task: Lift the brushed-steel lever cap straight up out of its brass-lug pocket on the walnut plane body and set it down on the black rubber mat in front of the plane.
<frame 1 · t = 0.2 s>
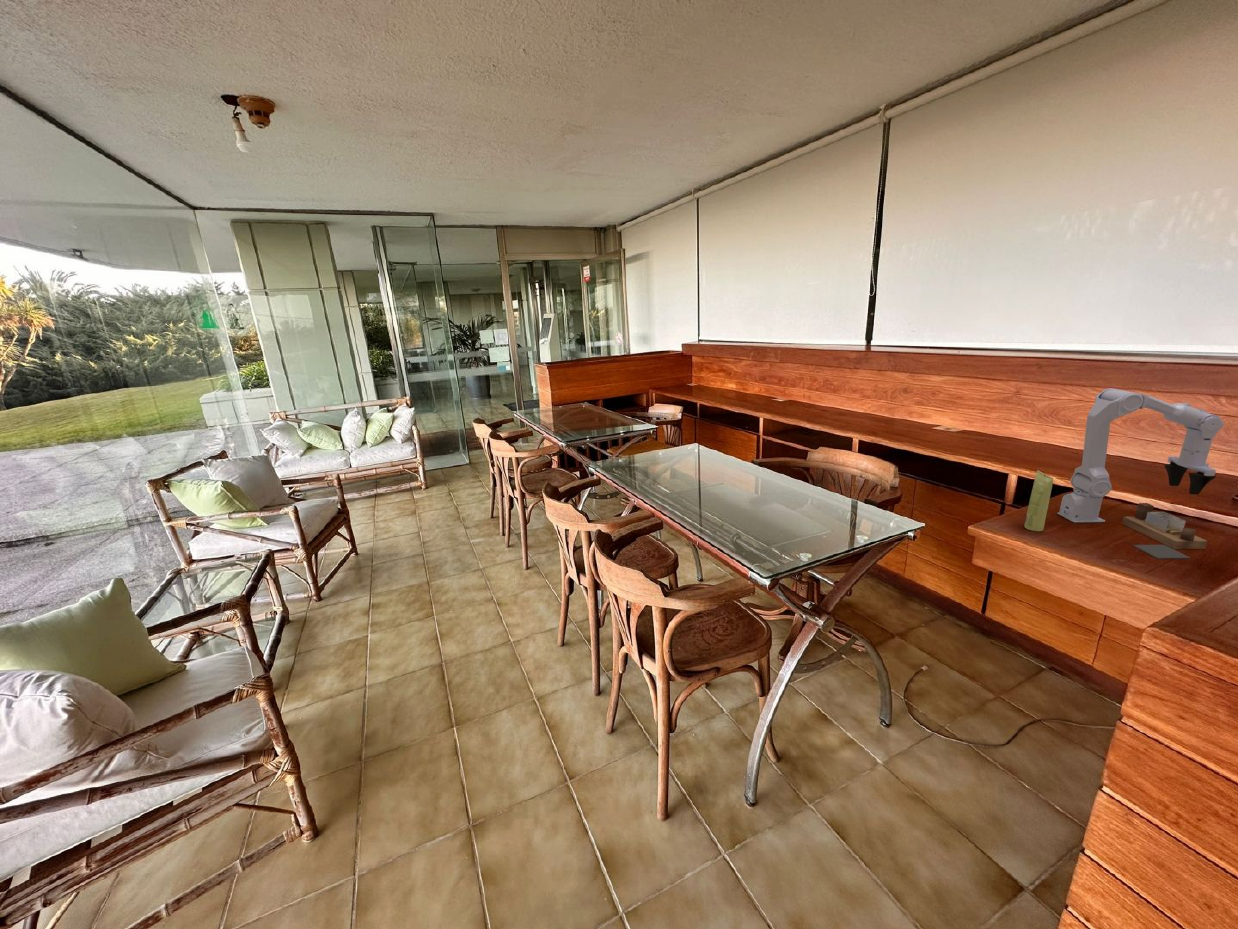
hand: (1183, 489, 157), 10 cm above the counter, fingers open, 7 cm apart
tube: (1033, 529, 161), on the counter
rubber mat: (1160, 552, 141), on the counter
lever cap: (1163, 528, 150), point 2 cm above the counter, touching plane body
plane body: (1161, 535, 150), on the counter
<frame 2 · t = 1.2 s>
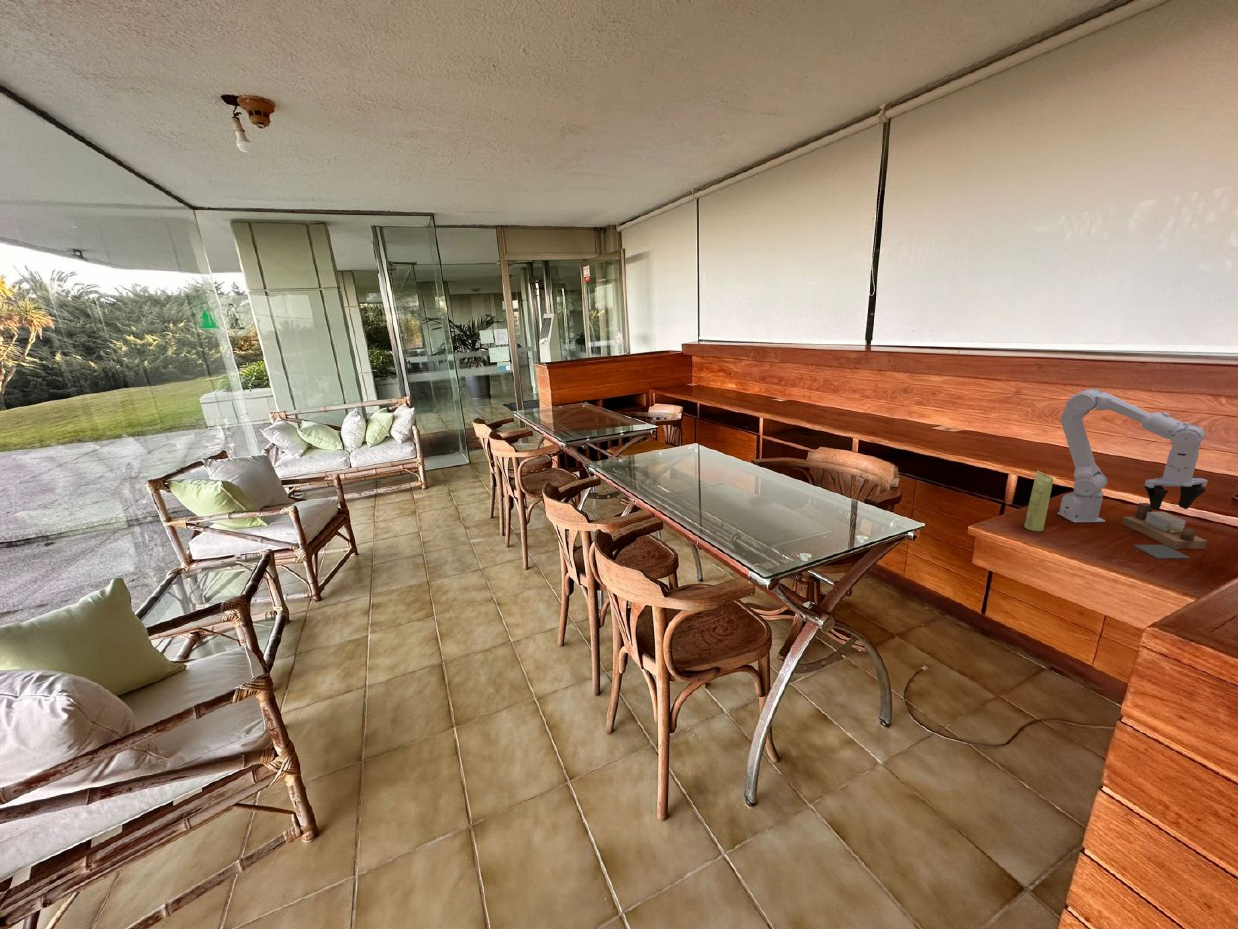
hand: (1168, 508, 148), 9 cm above the counter, fingers open, 7 cm apart
nothing on the counter moved.
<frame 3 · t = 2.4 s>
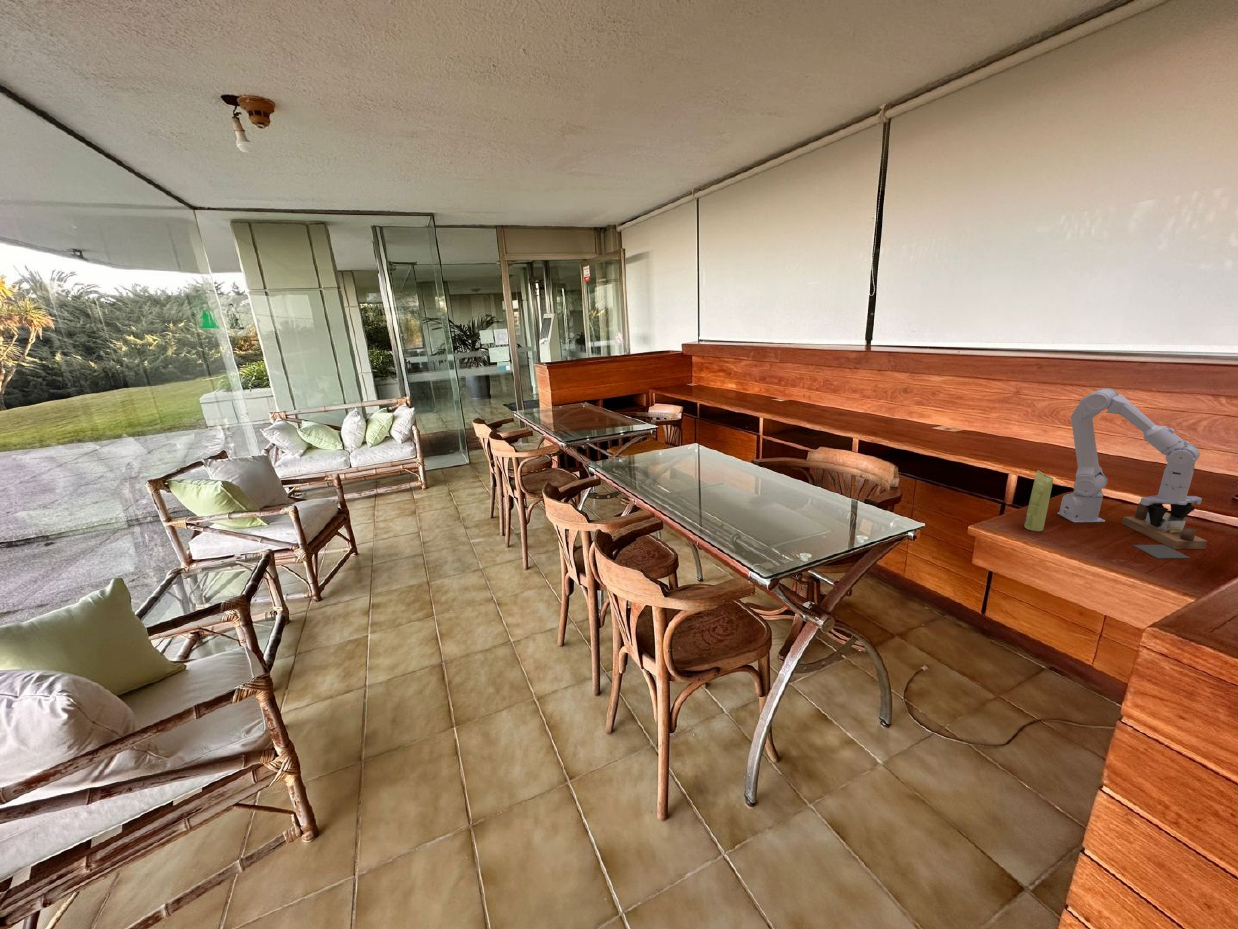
hand: (1163, 525, 149), 3 cm above the counter, fingers closed on lever cap, 4 cm apart
lever cap: (1163, 528, 150), point 2 cm above the counter, touching gripper, plane body
everything else where it was.
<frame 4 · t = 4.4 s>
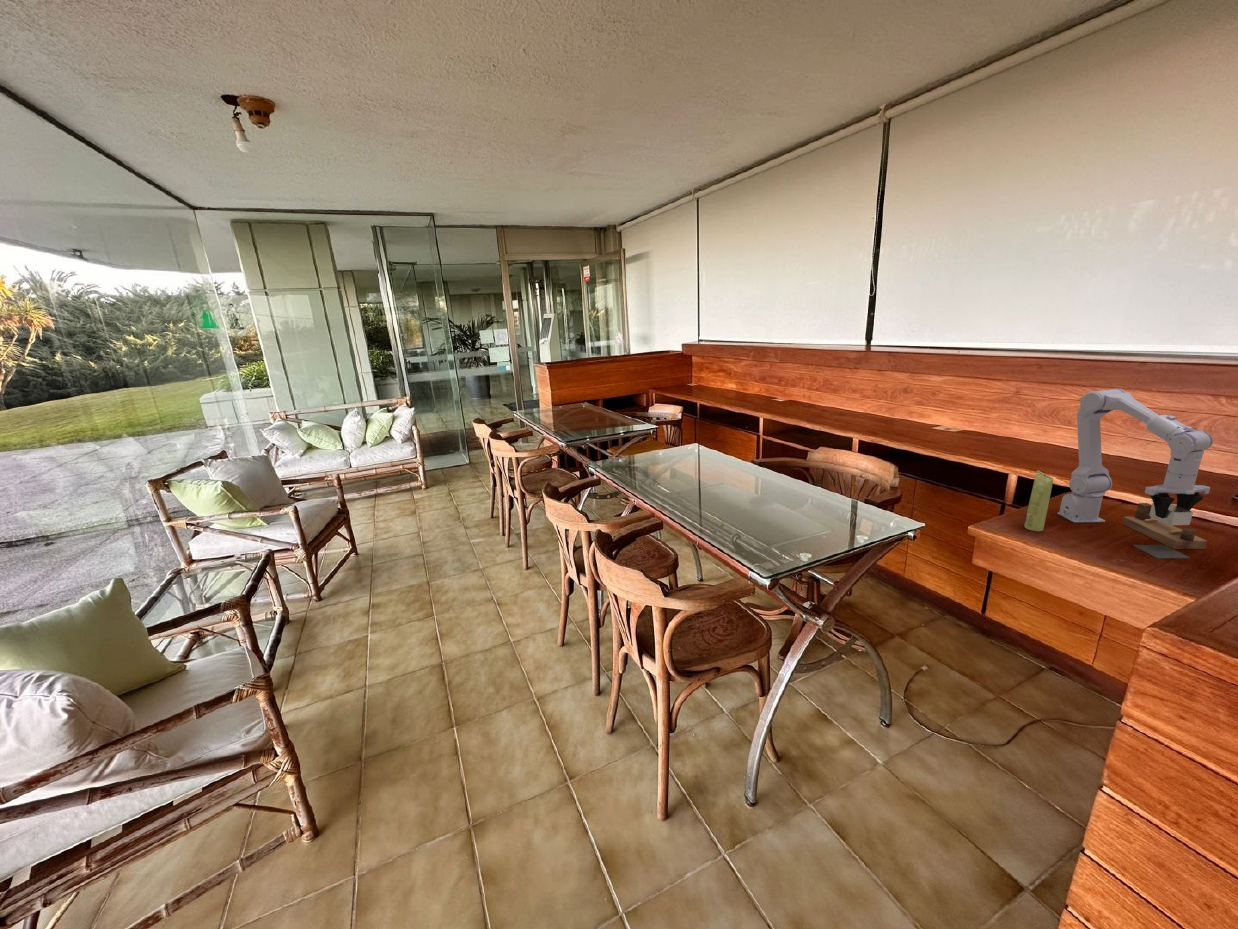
hand: (1169, 516, 141), 10 cm above the counter, fingers closed on lever cap, 4 cm apart
lever cap: (1168, 520, 141), point 9 cm above the counter, touching gripper
everything else where it was.
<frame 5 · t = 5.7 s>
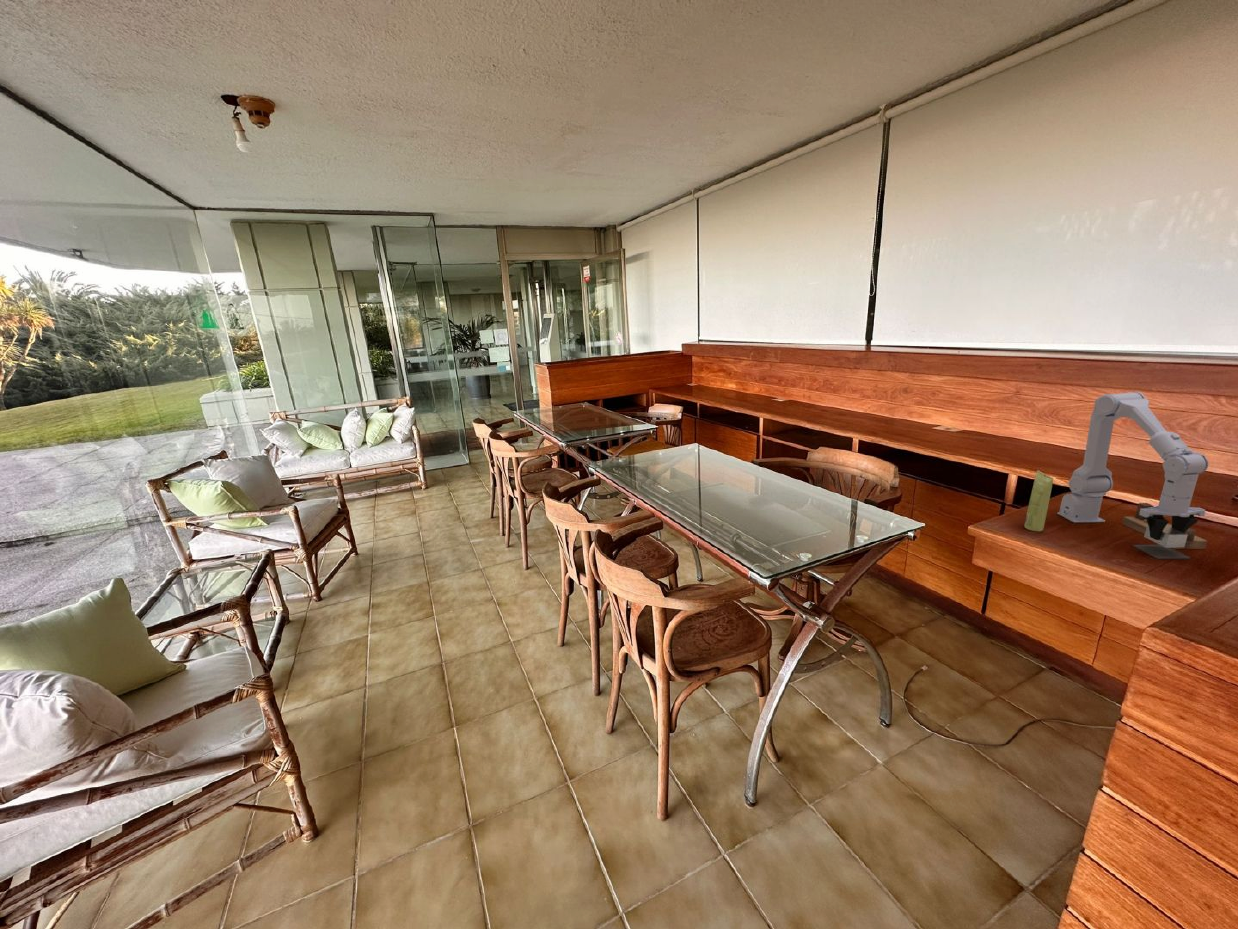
hand: (1164, 538, 140), 5 cm above the counter, fingers closed on lever cap, 4 cm apart
lever cap: (1163, 542, 140), point 3 cm above the counter, touching gripper
everything else where it was.
when the fingers open (3 cm above the counter, at t = 6.5 s): lever cap drops 1 cm, resting on rubber mat.
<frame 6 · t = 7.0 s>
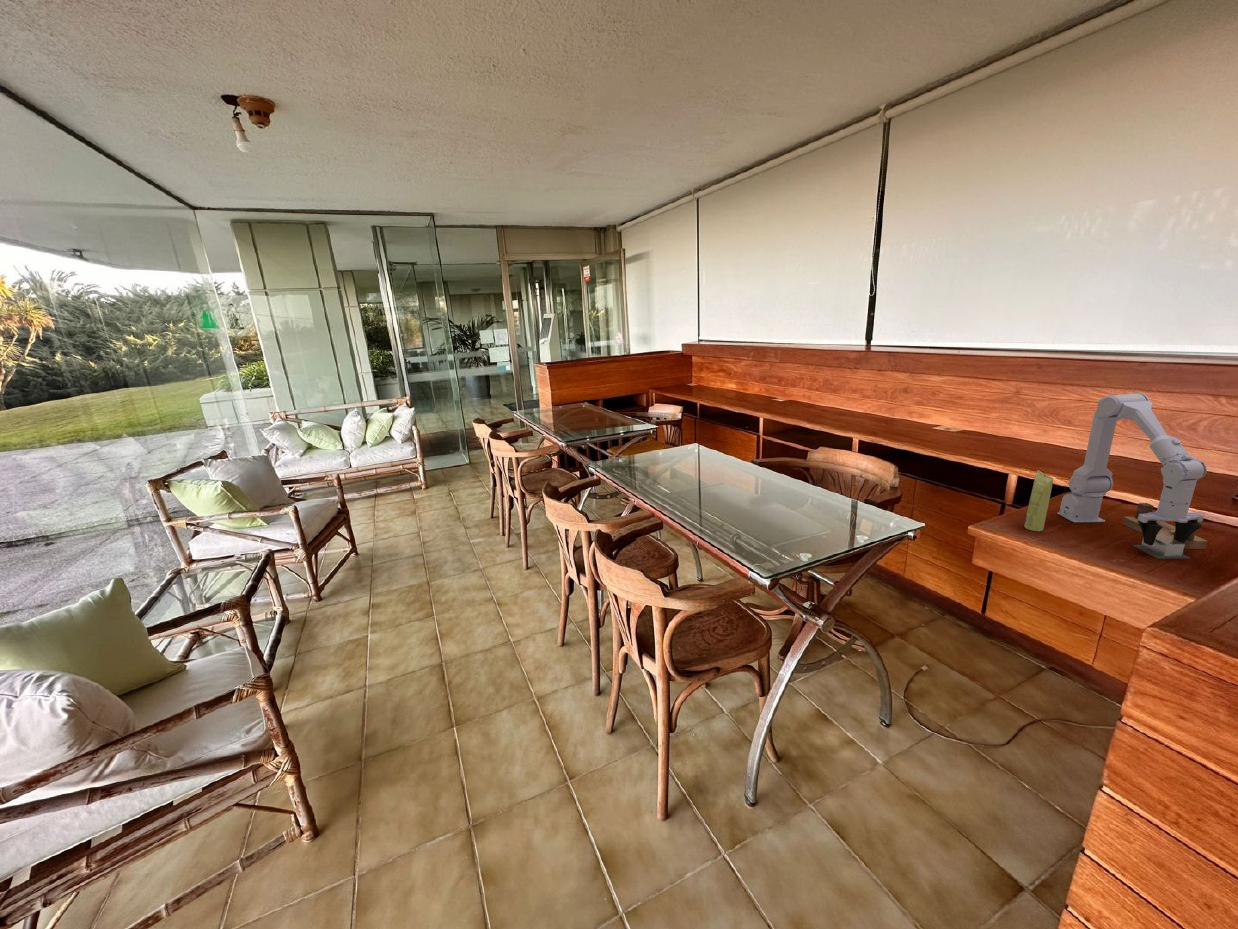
hand: (1162, 543, 141), 3 cm above the counter, fingers open, 7 cm apart
lever cap: (1160, 551, 141), resting on rubber mat
everything else where it was.
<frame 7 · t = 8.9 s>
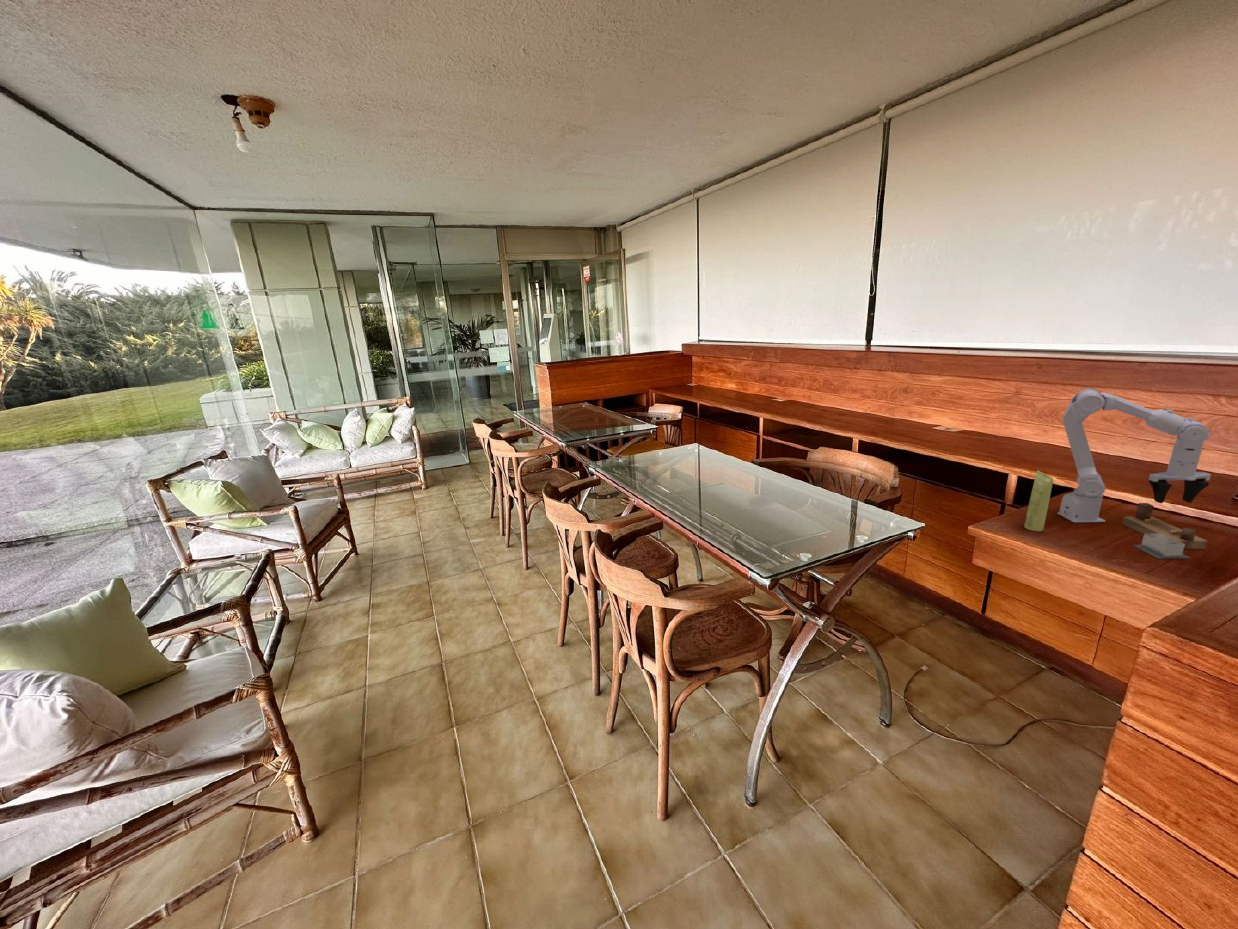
hand: (1172, 501, 151), 9 cm above the counter, fingers open, 7 cm apart
nothing on the counter moved.
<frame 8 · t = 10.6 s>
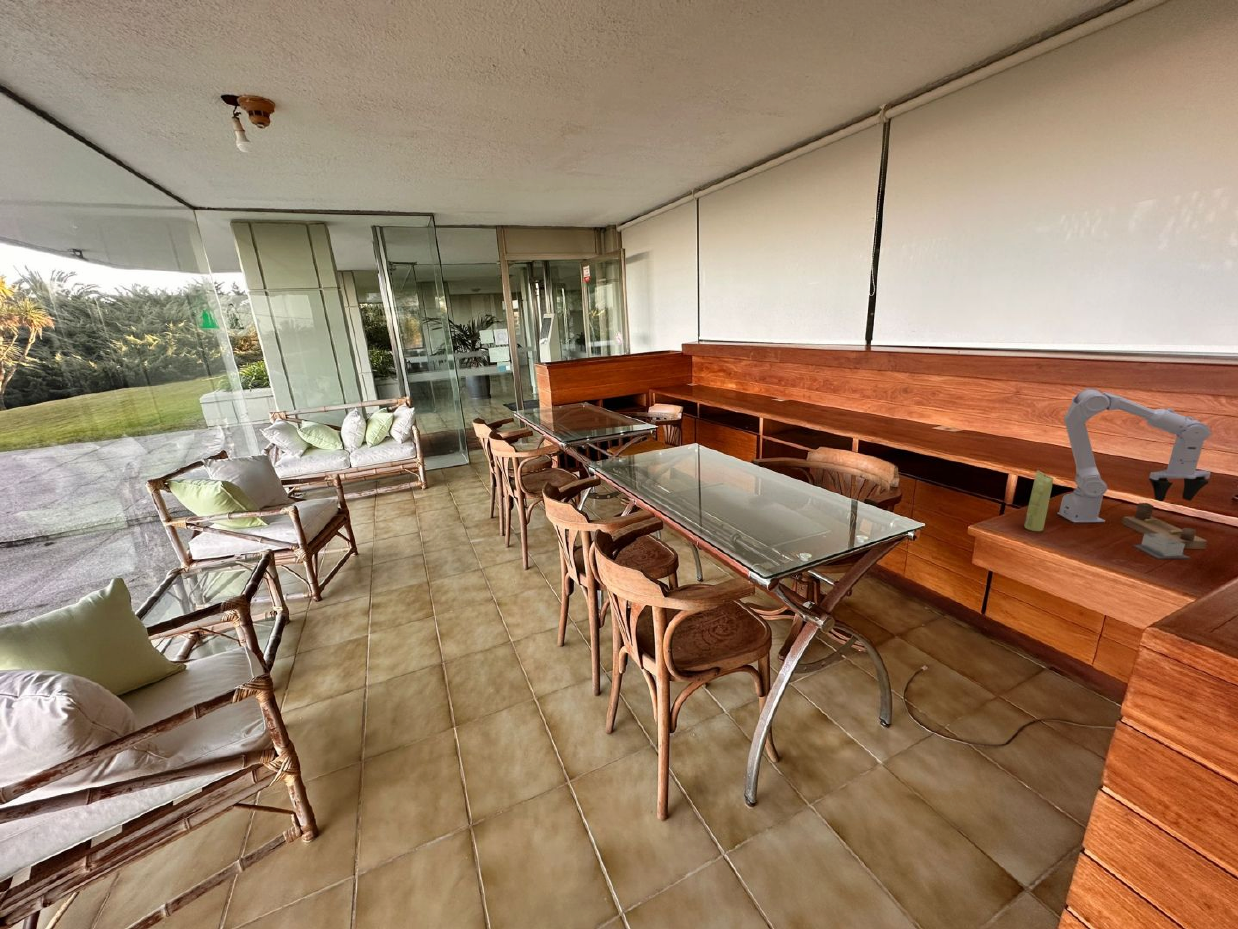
hand: (1172, 499, 152), 9 cm above the counter, fingers open, 7 cm apart
nothing on the counter moved.
at the end: lever cap inside the target area (0.0 cm from its centre), resting on rubber mat; lever cap tilted 0°; lever cap touching rubber mat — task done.
